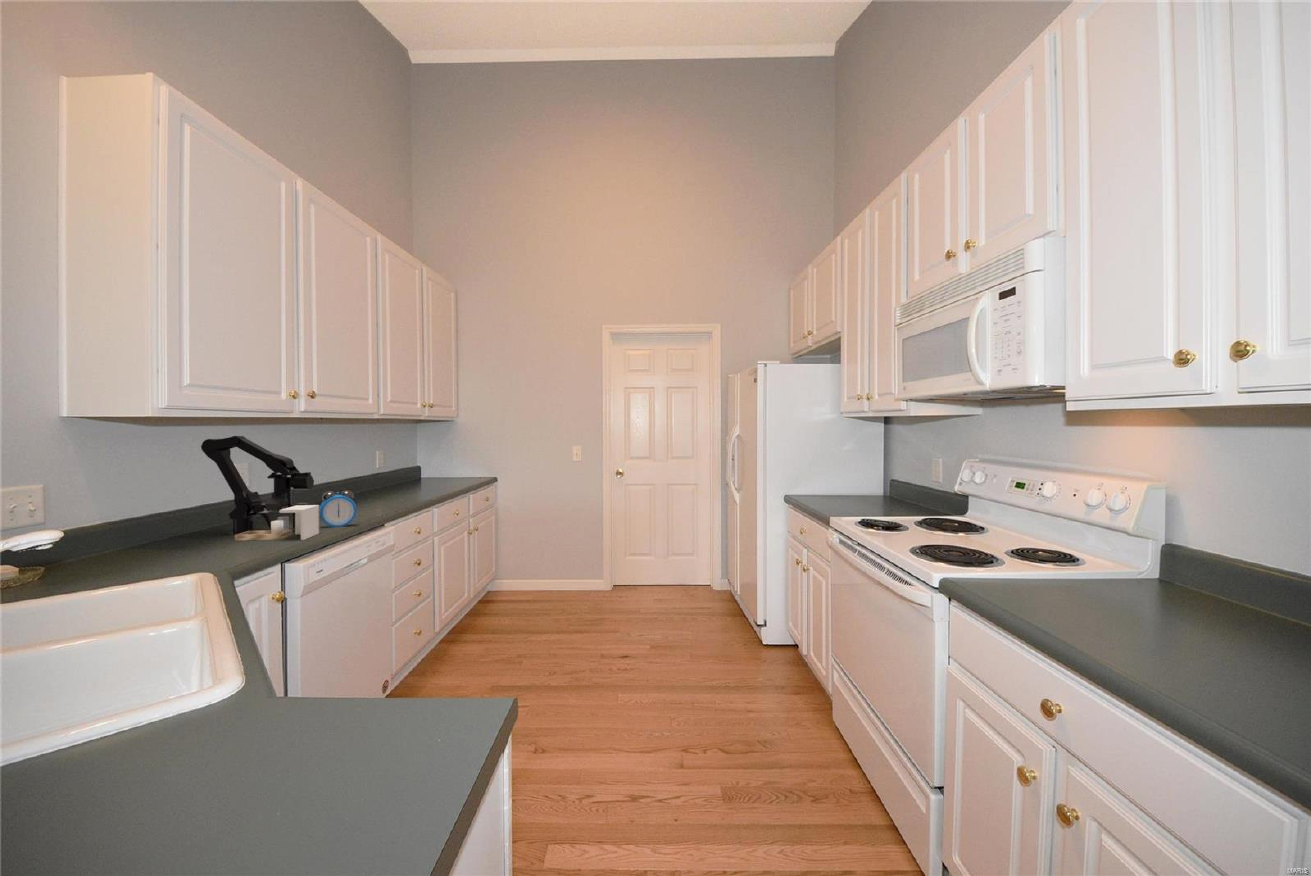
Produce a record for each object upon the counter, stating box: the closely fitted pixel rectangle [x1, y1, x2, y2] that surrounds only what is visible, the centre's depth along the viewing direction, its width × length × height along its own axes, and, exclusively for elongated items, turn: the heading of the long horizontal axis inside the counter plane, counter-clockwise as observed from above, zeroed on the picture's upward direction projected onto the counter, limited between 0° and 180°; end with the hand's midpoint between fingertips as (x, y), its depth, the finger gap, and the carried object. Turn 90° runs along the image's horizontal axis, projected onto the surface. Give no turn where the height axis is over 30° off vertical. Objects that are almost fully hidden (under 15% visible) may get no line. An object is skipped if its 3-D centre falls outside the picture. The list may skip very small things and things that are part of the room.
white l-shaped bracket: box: [278, 504, 320, 541], centre depth 200 cm, size 8×12×12 cm, turn 10°
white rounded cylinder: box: [271, 519, 284, 534], centre depth 198 cm, size 4×4×6 cm
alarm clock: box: [319, 490, 358, 528], centre depth 223 cm, size 13×6×15 cm, turn 126°
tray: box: [234, 529, 294, 541], centre depth 198 cm, size 15×9×2 cm, turn 100°
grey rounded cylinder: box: [276, 516, 290, 530], centre depth 210 cm, size 4×4×6 cm
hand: (282, 529), depth 210 cm, fingers open, 8 cm apart
